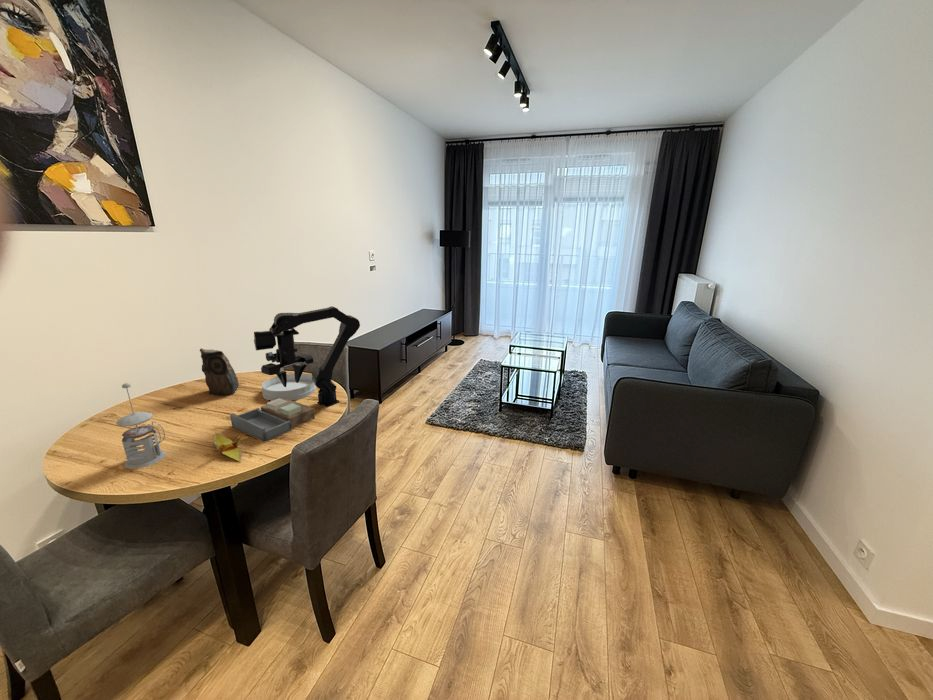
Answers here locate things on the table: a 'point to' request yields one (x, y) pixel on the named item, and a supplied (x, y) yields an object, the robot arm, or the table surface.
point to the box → (260, 424)
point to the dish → (288, 388)
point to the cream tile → (277, 404)
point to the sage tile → (290, 409)
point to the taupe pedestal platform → (296, 418)
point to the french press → (129, 443)
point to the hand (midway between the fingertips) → (291, 384)
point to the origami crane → (229, 446)
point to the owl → (218, 373)
